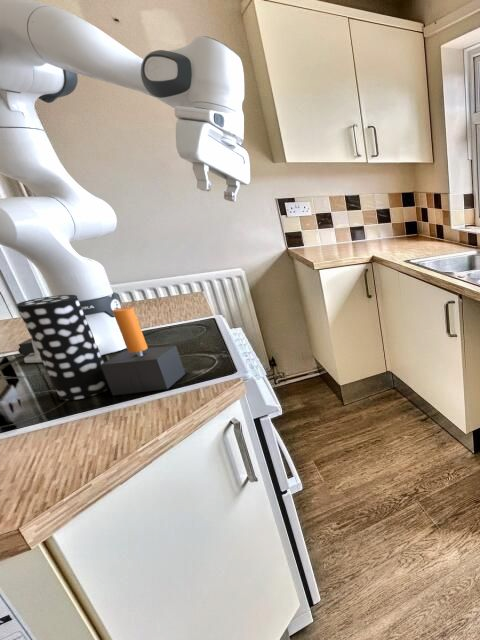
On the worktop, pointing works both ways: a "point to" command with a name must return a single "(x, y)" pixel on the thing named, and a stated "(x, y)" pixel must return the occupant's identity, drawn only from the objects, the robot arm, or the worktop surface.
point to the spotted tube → (65, 345)
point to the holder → (143, 370)
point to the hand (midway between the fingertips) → (217, 195)
